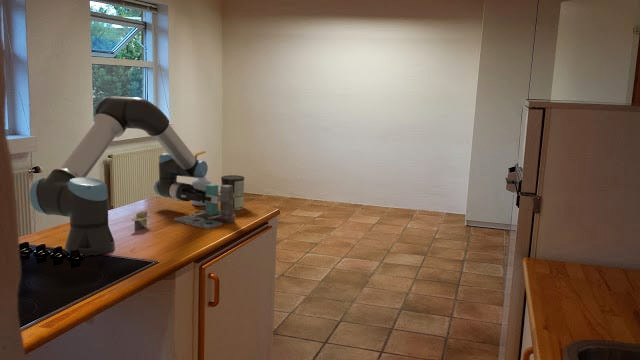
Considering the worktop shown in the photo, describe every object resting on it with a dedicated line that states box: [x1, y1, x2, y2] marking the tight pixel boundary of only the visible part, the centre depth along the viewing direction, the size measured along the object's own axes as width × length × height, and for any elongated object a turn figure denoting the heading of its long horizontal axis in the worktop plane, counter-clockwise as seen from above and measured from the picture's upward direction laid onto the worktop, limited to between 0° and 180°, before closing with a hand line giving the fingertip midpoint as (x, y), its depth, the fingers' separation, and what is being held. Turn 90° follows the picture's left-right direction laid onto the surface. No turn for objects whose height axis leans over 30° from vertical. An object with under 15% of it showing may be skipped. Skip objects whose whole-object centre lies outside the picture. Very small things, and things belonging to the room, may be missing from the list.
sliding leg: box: [192, 183, 220, 216], centre depth 230 cm, size 12×5×12 cm, turn 144°
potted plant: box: [130, 210, 151, 231], centre depth 216 cm, size 12×18×7 cm, turn 172°
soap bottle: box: [191, 150, 213, 207], centre depth 260 cm, size 9×9×25 cm
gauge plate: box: [174, 214, 223, 230], centre depth 226 cm, size 8×19×1 cm, turn 54°
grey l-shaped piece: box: [194, 185, 237, 225], centre depth 229 cm, size 12×19×15 cm, turn 54°
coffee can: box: [220, 174, 245, 211], centre depth 255 cm, size 10×10×14 cm
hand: (221, 199), depth 230 cm, fingers closed on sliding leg, 4 cm apart
